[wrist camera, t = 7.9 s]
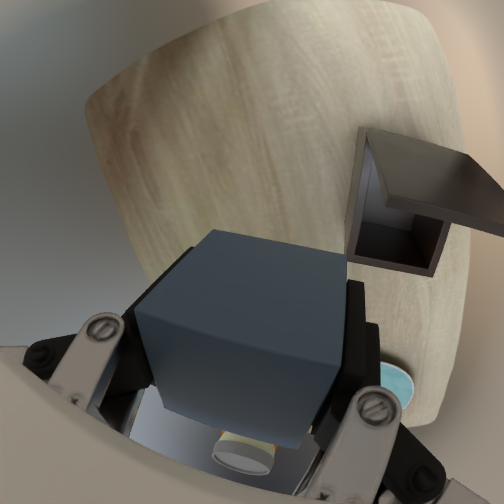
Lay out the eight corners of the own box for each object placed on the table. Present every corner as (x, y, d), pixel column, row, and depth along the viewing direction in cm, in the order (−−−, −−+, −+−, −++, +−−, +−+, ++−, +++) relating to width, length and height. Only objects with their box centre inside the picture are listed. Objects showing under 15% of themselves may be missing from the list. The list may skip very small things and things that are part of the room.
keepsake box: (413, 235, 31) (432, 277, 23) (344, 222, 33) (344, 260, 25) (433, 144, 26) (466, 157, 17) (358, 126, 28) (366, 130, 19)
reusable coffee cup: (228, 389, 57) (202, 445, 44) (285, 396, 52) (266, 459, 40) (241, 418, 62) (220, 467, 49) (290, 424, 57) (274, 479, 45)
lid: (539, 249, 8) (544, 239, 8) (384, 207, 10) (387, 194, 10) (467, 161, 17) (469, 154, 17) (366, 134, 19) (367, 127, 19)
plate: (341, 425, 53) (340, 435, 50) (273, 378, 50) (269, 389, 48) (431, 389, 41) (432, 400, 39) (372, 325, 39) (373, 339, 36)
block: (212, 228, 10) (132, 308, 6) (347, 254, 9) (341, 366, 5) (214, 325, 12) (163, 408, 8) (319, 351, 11) (297, 450, 7)
